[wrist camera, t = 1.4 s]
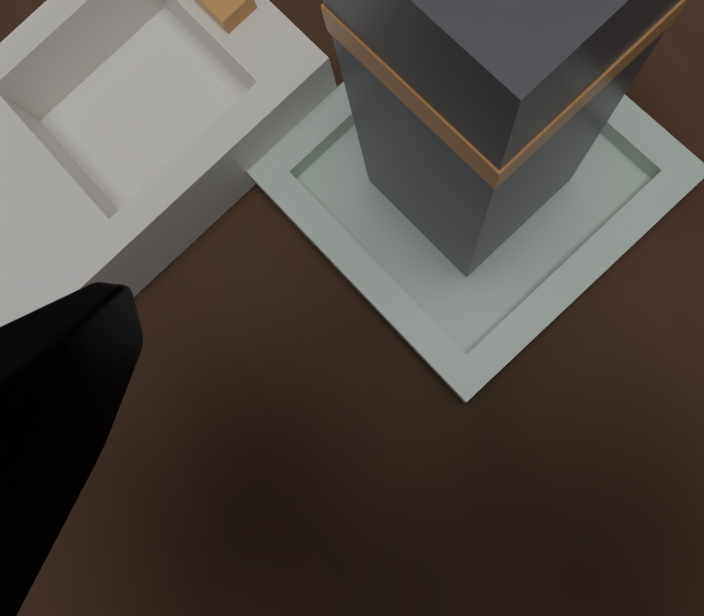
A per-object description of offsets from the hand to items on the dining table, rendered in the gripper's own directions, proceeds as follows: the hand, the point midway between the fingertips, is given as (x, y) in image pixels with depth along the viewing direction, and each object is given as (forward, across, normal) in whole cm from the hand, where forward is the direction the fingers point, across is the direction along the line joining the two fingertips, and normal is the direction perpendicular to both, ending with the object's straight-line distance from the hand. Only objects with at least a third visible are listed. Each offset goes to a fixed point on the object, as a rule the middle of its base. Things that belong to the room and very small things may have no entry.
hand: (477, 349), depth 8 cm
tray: (+14, 0, +4) cm, 14 cm away
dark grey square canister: (+13, 0, +4) cm, 14 cm away
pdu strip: (+10, +15, +7) cm, 20 cm away
